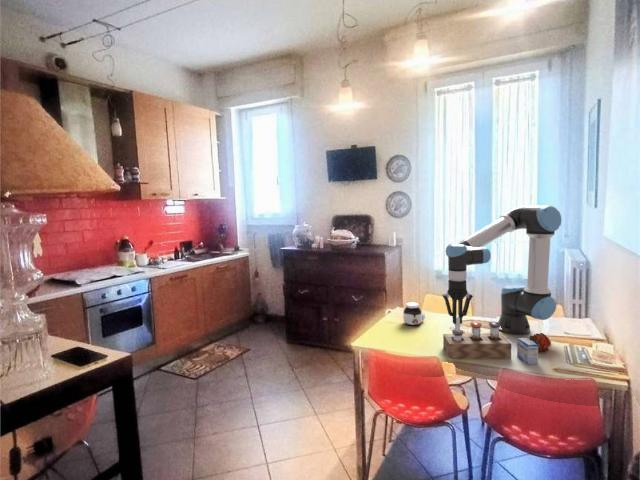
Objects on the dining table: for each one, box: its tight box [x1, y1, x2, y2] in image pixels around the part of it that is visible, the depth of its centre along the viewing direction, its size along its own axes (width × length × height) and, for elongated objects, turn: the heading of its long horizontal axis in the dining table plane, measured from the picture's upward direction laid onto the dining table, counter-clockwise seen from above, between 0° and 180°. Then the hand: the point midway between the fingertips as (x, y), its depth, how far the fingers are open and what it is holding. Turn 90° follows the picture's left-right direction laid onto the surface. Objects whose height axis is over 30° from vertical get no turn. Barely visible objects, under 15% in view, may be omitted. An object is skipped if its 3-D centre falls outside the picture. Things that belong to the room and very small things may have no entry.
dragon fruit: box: [528, 332, 552, 353], centre depth 173 cm, size 8×8×12 cm
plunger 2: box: [470, 321, 482, 341], centre depth 172 cm, size 5×5×9 cm
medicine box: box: [516, 337, 539, 366], centre depth 163 cm, size 8×4×9 cm, turn 5°
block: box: [442, 332, 512, 360], centre depth 172 cm, size 26×12×7 cm, turn 85°
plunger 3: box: [488, 321, 500, 341], centre depth 171 cm, size 5×5×9 cm
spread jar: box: [402, 301, 426, 327], centre depth 215 cm, size 12×11×12 cm
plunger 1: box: [451, 328, 464, 341], centre depth 173 cm, size 5×5×9 cm
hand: (457, 330), depth 172 cm, fingers closed
